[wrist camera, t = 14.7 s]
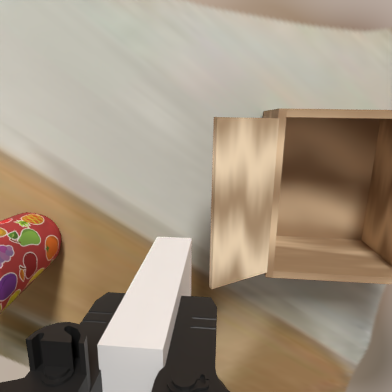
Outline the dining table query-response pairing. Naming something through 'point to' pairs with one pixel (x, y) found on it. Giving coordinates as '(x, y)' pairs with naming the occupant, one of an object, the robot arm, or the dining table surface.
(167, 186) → the dining table surface
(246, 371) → the dining table surface
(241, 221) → the flap
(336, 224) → the carton
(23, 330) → the dining table surface
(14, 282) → the smoothie
